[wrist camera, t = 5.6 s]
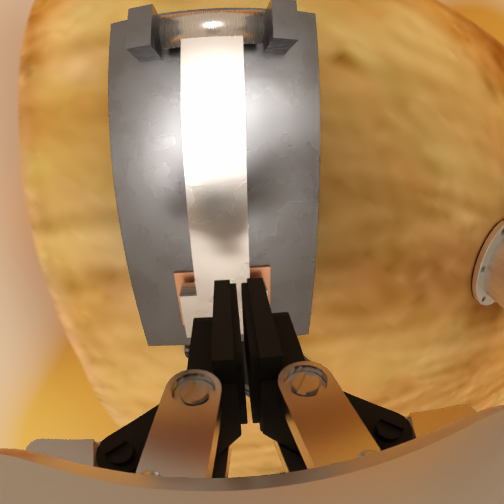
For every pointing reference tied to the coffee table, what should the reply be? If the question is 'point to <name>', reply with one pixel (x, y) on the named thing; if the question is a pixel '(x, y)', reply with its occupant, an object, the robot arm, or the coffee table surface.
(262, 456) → the coffee table surface
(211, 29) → the latch bar
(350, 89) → the coffee table surface
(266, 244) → the base block
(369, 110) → the coffee table surface
